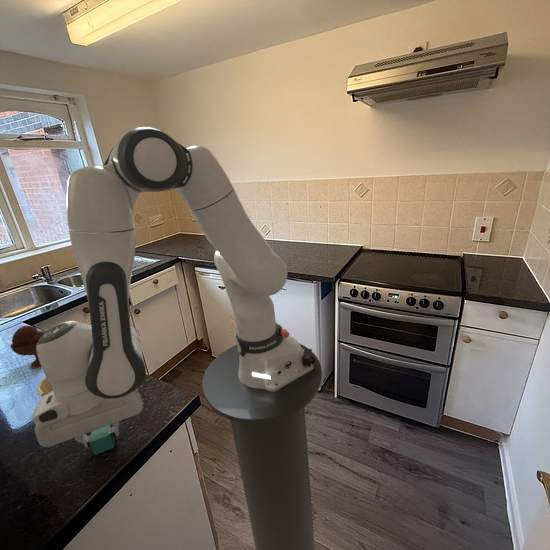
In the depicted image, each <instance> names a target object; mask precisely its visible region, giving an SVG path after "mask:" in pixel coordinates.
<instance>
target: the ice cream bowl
mask: <svg viewBox="0 0 550 550" xmlns="http://www.w3.org/2000/svg"><path fill="white" fill-rule="evenodd" d="M47 331H48V330H39V329H38V328H37V327H35V326H33V325H23V326H21V327H19V328H18V329H17V330H16V331H15V332H14V334H12V339H11V344H10V348H11V350H12V351H13V352H14V354H16V355H19V356H34V357H35V359H34V361H32V363H31V367H32V368H39V367H41V364H40V362H39V359H38V355H37V350H36V345H37V343H38V341H39V339H40V338H41V336H42V335H43V334H44V333H45V332H47Z"/></svg>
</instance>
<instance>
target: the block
mask: <svg viewBox="0 0 550 550" xmlns="http://www.w3.org/2000/svg"><path fill="white" fill-rule="evenodd" d="M111 427H113V425H112V424H110V425H108V426H105V427H102V428H99V429H97V430H94V431H91V432H90V435H89V436H90V441H89V443H90V445H91V446H90V448H91V449H92V452H93V454H94V456H96V455H99V454H102V453H105V452H106V451H109V450H112V449H115V439H116V437H114V438H112V437H111V434H110V431H111Z"/></svg>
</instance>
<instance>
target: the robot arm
mask: <svg viewBox="0 0 550 550" xmlns="http://www.w3.org/2000/svg"><path fill="white" fill-rule="evenodd" d="M170 190H175V191H176V192H177V193H178V195H180V197H181V198H182V199H183V201H184V203H185V205H186V206H187V209H188V211H189V212H190V214H191V215H192V217H193V218H194V220H195V222H196V223H197V225H198V227H199V229H200V230H201V232H202V233H203V235H204V237H205V238H206V240H207V241H208V242H209V243H210V245H212V247H213V248H214V249H215V253H214V256H213V262H214V265H215V267H216V269H217V271H218V272H219V274H220V278H221V280H222V283H223V286H224V288H225V292H226V294H227V297H228V300H229V302H230V305H231V309H232V313H233V318H234V323H235V330H236V331H235V342H236V345H237V348H238V352H239V354H240V363H239V371H238V377H239V380H240V381H241V382H242V383H243V384H244V385H246V386H248V387H251V388H258V389H265V390H267V391H270V392H275V391H277V390H279V389H280V388H282V387H284V386H285V385H287V384H289V383H290V382H292V381H294V380H295V379H297V378H299V377H301V376H302V375H304V374H306V373H307V372H309V371H311V370H312V369H313V363H315V358H314V357H313V356H312V352H313V349H312V348H308V349H303V348H302V347H301V345H300V344H301V343H300V344H299V342H298V340H297V339H296V338H294V337H293V336H292V335H290V332H289V331H288V330H287V329H285V328H283V327H282V325H281V324H278V322H276V313H275V305H274V301H273V299H272V298H271V296H274V295H276V294H277V293H279V292H280V291H281V290H282V289H283V288H284V286H285V285H286V283H287V280H288V273H289V272H288V271H289V270H288V267H287V264H286V262H285V261H284V259H282V258H281V257H280V256H279V255H278V254H277V253H276V251H274V249H272V247H271V246H270V244H268V242H267V240H266V239H265V238H264V236H263V235H262V233H261V232H260V231H259V230H258V229H257V227H256V226H255V224H254V223H253V222H252V220H251V219H250V217H249V215H248V213H247V211H246V209H245V207H244V205H243V204H242V201H241V200H240V198H239V195H238V194H237V193H238V192H237V191H236V189H235V187H234V185H233V184H232V181H231V179H230V178H229V176H228V175H227V172H226V171H225V169H224V167H223V166H222V165H221V164H220V161H219V160H218V159H217V157H216V156H215V155H214V154H213V152H212V151H211V150H210V149H209V148H207V147H205V146H203V145H191V146H187V147H185V146H184V145H183V144H181V143H179V142H178V141H177V140H176V139H174V138H173V137H172V136H170V135H169V134H168V133H166V132H164V131H163V130H160V129H158V128H155V127H151V126H139V127H135V128H132V129H131V130H129V131H126V132H124V133H122V134H121V135H120V136H119V137H118V138H117V140H116V141H115V143H114V145H113V147H112V148H111V150H110V151H109V155H108V156H107V158H106V160H105V162H104V163H103V165H87V166H83V167H80V168H77V169H74V171H73V172H71V173H70V175H69V176H68V179H67V188H66V214H67V215H66V217H67V219H66V220H67V226H68V227H67V228H68V234H69V239H70V245H71V248H72V252H73V256H74V258H75V261H76V264H77V268H78V271H79V274H80V277H81V280H82V284H83V288H84V290H85V294H86V298H87V303H88V309H89V310H88V311H89V319H90V324H89V323H88V324H87V323H83V322H80V321H78V320H77V321H76V320H68V321H64V322H61V323H58V324H57V325H55V326H52V327H51V328H49V329H48V330H46V331H47V332H45V333H44V334H43V335H42V336H41V338H40V339H39V341H38V343H37V345H36V350H37V355H38V359H39V362H40V364H41V366H40V367H41V370H42V372H43V374H44V377H46V378H47V379H48V380H49V381H50V382H51V383H52V385H53V391H52V392H50V393H48V394H46V395H45V396H43V397H42V398H39V401H38V403H37V405H36V407H35V409H34V411H33V414H32V418H31V419H32V422H33V424H35V427H34V434H35V438H36V440H37V442H38V444H39V445H40V447H43V448H47V449H48V448H51V447H53V446H56V445H59V444H61V443H65V442H67V441H69V440H73V439H74V441H76V442H78V443H80V444H83V445H84V447H85V449H88V448H91V445H90V443H89V441H90V435H88V433H91V431H94V430H97V429H99V428H102V427H105V426H108V425H110V424H111V426H112V427H111V431H110V434H111V437H112V438H114V437H115V438H116V437H119V436H120V430H119V427H120V424H121V422H122V421H124V420H126V419H130V418H131V417H134V416H137V415H139V414H141V413H142V411H143V409H144V401H143V398H142V396H141V394H140V392H139V390H140V386H142V384H143V382H144V381H145V378H146V375H147V368H146V365H145V361H144V357H143V355H144V354H143V349H142V341H141V335H140V332H139V331H138V329H137V328H136V327H135V326H134V325H132V324H131V316H130V315H131V314H130V300H129V299H130V288H131V281H132V275H133V269H134V265H135V256H136V245H137V244H136V243H137V241H136V240H137V235H136V234H137V233H136V222H135V215H134V214H135V212H134V211H135V204H136V201H137V198H138V197H139V196H140V195H141V194H142V193H158V192H166V191H170ZM276 385H277V386H276Z"/></svg>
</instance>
